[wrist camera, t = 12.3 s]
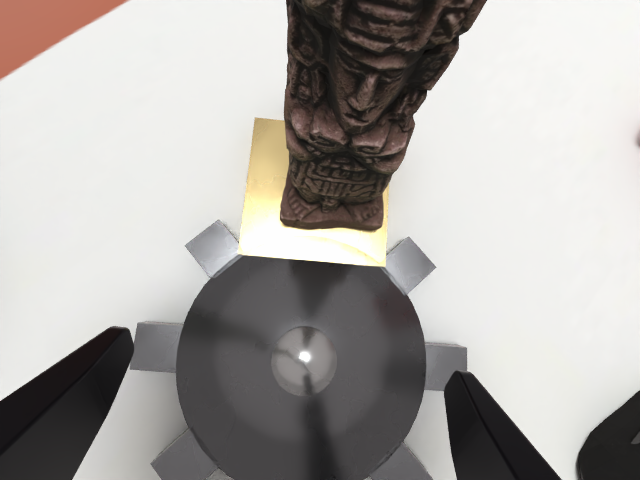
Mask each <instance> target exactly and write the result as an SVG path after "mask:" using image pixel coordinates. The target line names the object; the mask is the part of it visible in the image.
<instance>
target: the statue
mask: <svg viewBox="0 0 640 480" xmlns="http://www.w3.org/2000/svg"><path fill="white" fill-rule="evenodd" d="M486 1H487V0H286V4H287V17H288V32H287V53H288V64H287V85H286V89H285V102H284V120H285V134H286V146H287V149H288V151H289V167H288V172H287V177H286V184H285V188H284V191H283V195H282V200H281V203H280V221H281V222H282V223H283V224H284V225H286V226H292V227H297V228H302V229H326V228H335V227H346V228H354V229H358V230H370V231H372V230H378V229H380V228H381V227H382V226H383V218H384V202H383V192H384V191H385V189H386V187H387V186H388V184H389V182H390V180H391V176H392V174H393V173H394V172H395V171H397V169H398V167H399V166H400V164H401V162H402V161H403V159H404V156H405V153H406V149H407V146H408V144H409V141H410V138H411V136H412V133H413V130H414V127H415V122H414V119H413V114H414V113H416V112H417V110H418V109H419V107H420V106H421V104H422V103H423V102H424V100H425V99H426V96H427V90H431V89H432V88H433V87H434V85H435V84H436V82H437V81H438V80H439V78H440V77H441V76H442V74H443V73H444V72H445V70H446V69H447V68H448V66H449V64H450V63H451V61H452V59H453V57H454V56H455V54H456V52H457V51H458V49H459V36H460V35H461V34H463V33H465V32H467V31H468V30H469V29H470V28H471V26H472V25H473V23H474V22H475V20H476V18H477V16H478V15H479V13H480V11H481V10H482V8H483V6H484V4H485V3H486Z"/></svg>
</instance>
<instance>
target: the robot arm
mask: <svg viewBox="0 0 640 480" xmlns="http://www.w3.org/2000/svg"><path fill="white" fill-rule="evenodd" d="M133 354H134V343H133V340H132V337H131V333H130V330H129V329H128V328H125V327H118V326H112V327H110V328H108V329H106V330H105V331H103V332H102V333H100V334H99V335H97V336H96V337H94V338H93V339H91V340H90V341H89V342H87V343H86V344H84V345H83V346H81V347H80V348H78V349H77V350H75V351H74V352H72V353H71V354H69V355H68V356H66V357H65V358H63V359H62V360H60V361H59V362H57V363H56V364H54V365H53V366H51V367H50V368H49V369H47V370H46V371H44V372H43V373H41V374H40V375H38V376H37V377H35V378H34V379H32V380H31V381H29V382H28V383H26V384H25V385H23V386H22V387H20V388H19V389H17V390H16V391H14V392H13V393H12V394H10V395H9V396H7V397H6V398H4V399H3V400H1V401H0V480H72V479H73V477H74V475H75V473H76V472H77V470H78V468H79V466H80V464H81V462H82V461H83V459H84V457H85V455H86V453H87V451H88V450H89V448H90V446H91V444H92V442H93V440H94V439H95V437H96V435H97V433H98V431H99V429H100V428H101V426H102V424H103V422H104V420H105V418H106V416H107V414H108V413H109V410H110V408H111V406H112V404H113V402H114V399H115V397H116V395H117V392H118V390H119V387H120V385H121V383H122V380H123V378H124V376H125V373H126V371H127V368H128V366H129V364H130V361H131V359H132V357H133ZM444 398H445V406H446V414H447V423H448V431H449V439H450V447H451V453H452V458H453V463H454V468H455V472H456V477H457V480H562V479H561V478H560V477H559V476H558V475H557V474H556V472H555V471H554V470H553V469H552V468H551V466H550V465H549V464H548V463H547V462H546V460H545V459H544V458H543V457H542V456H541V454H540V453H539V452H538V451H537V450H536V449H535V447H534V446H533V445H532V444H531V443H530V441H529V440H528V439H527V438H526V437H525V435H524V434H523V433H522V432H521V431H520V429H519V428H518V427H517V426H516V425H515V424H514V422H513V421H512V420H511V419H510V418H509V416H508V415H507V414H506V413H505V412H504V410H503V409H502V408H501V407H500V406H499V404H498V403H497V402H496V401H495V400H494V399H493V397H492V396H491V395H490V394H489V393H488V391H487V390H486V389H485V388H484V387H483V385H482V384H481V383H480V382H479V381H478V379H477V378H476V377H475V376H474V375H473V374H472V373H471V372H468V371H461V370H456V371H454V372H453V374H452V376H451V377H450V379H449V380H448V382H447V384H446V385H445V388H444Z"/></svg>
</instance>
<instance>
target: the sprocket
mask: <svg viewBox="0 0 640 480" xmlns="http://www.w3.org/2000/svg"><path fill="white" fill-rule="evenodd" d="M288 167H289V151H288V149H287V146H286V134H285V121H282V120H273V119H263V118H255V122H254V130H253V138H252V146H251V154H250V162H249V169H248V177H247V185H246V193H245V201H244V209H243V217H242V225H241V233H240V241H239V242H238V241H237V240H236V239H235V238H234V236H233V235H232V234H231V233H230V232H229V230H228V229H227V228H226V227H225V225H224V224H223V223H222V222H221V221H220V220H217V221H216V222H215V223H213V224H212V225H211V226H209V227H208V228H207V229H206V230H204V231H203V232H202V233H200V234H199V235H198V236H196V237H195V238H194V239H192V240H191V241H190V242H189V243H187V244H186V245H185V247H186V248H187V249H188V250H189V252H190V253H191V254H192V255H193V257H194V258H195V259H196V260H197V262H198V263H199V264H200V265H201V267H202V268H203V269H204V270H205V272H206V273H207V274H208V275H209V277H210V278H211V279H210V280H209V281H208V282H207V283H206V284H205V286H204V287H203V288H202V290H201V291H200V293H199V294H198V296H197V297H196V299H195V300H194V302H193V304H192V306H191V308H190V310H189V312H188V314H187V317H186V319H185V322H184V324H173V323H159V322H140V323H138V324H137V329H136V335H135V341H134V354H133V357H132V359H131V363H130V369H131V370H145V371H160V372H174V373H176V382H177V390H178V395H179V401H180V405H181V408H182V411H183V414H184V417H185V420H186V422H187V424H188V426H189V428H188V429H187V430H186V431H185V432H184V433H183V434H182V435H180V436H179V437H178V438H177V439H176V440H175V441H174V442H172V443H171V444H170V445H169V446H168V447H167V448H166V449H164V450H163V451H162V452H161V453H160V454H159V455H158V456H157V457H156V458H155V459H154V460H153V462H152V463H151V465H152V467H153V468H154V469H155V471H156V472H157V474H158V475H159V476H160V478H161V479H162V480H205V479H206V478H207V477H208V476H209V475H210V474H212V473H213V472H214V471H215V470H216V469H217V468H218V467H219V468H220V469H221V470H222V471H223V472H224V473H226V474H227V475H228V476H230V477H231V478H233V479H234V480H364V479H365V478H367V477H368V476H370V477H371V478H372V480H433V479H432V477H431V476H430V475H429V473H428V472H427V471H426V469H425V468H424V467H423V466H422V464H421V463H420V462H419V461H418V459H417V458H416V457H415V456H414V455H413V453H412V452H411V451H410V450H409V449H408V447H407V446H406V445H405V444H404V443H403V440H404V439H405V437H406V436H407V434H408V433H409V431H410V429H411V427H412V425H413V423H414V421H415V418H416V416H417V413H418V410H419V407H420V404H421V401H422V397H423V392H424V390H436V391H444V388H445V385H446V384H447V382H448V380H449V379H450V377H451V376H452V374H453V372H454V371H456V370H461V371H467V348H466V347H463V346H460V345H451V344H437V343H425V342H424V336H423V332H422V328H421V325H420V321H419V318H418V316H417V313H416V311H415V309H414V306H413V304H412V302H411V301H410V299H409V297H408V295H407V294H408V293H409V292H410V291H411V290H412V289H413V288H414V287H415V286H416V285H418V284H419V283H420V282H421V281H422V280H423V279H424V278H425V277H426V276H427V275H428V274H430V273H431V272H432V271H433V270H434V269H435V268H436V266H435V265H434V264H433V263H432V262H431V261H430V260H429V259H428V257H427V256H426V255H425V254H424V253H423V252H422V251H421V250H420V248H419V247H418V246H417V245H416V244H415V243H414V242H413V241H412V240H411V238H410V237H407V238H406V239H404V240H403V241H401V242H400V243H399V244H398V245H397V246H396V247H395V248H393V249H392V250H391V251H390V252H389V253H388V254H387V255H386V239H387V216H388V193H389V184H388V186H387V187H386V189H385V191H384V192H383V202H384V218H383V226H382V227H381V228H380V229H378V230H372V231H370V230H358V229H354V228H346V227H335V228H326V229H302V228H297V227H292V226H286V225H284V224H283V223H282V222H281V221H280V203H281V200H282V195H283V191H284V188H285V184H286V177H287V172H288Z"/></svg>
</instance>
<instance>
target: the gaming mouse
mask: <svg viewBox="0 0 640 480" xmlns="http://www.w3.org/2000/svg"><path fill="white" fill-rule="evenodd" d="M579 467H580V473H581V479H582V480H640V391H638V392H637V393H636V394H635V395H634V396H633V397H631V398H630V399H629V400H628V401H627V402H626V403H625V404H624V405H622V406H621V407H620V408H619V409H618V410H616V411H615V412H614V413H613V414H611V415H610V416H609V417H607V418H606V419H605V420H604V421H603V422H602V423H600V424H599V425H598V426H597V427H596V428H595V429H594V430H593V431H592V432H591V433H590V435H589V436H588V438H587V440H586V442H585V444H584V446H583V448H582V450H581V451H580V453H579Z"/></svg>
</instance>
